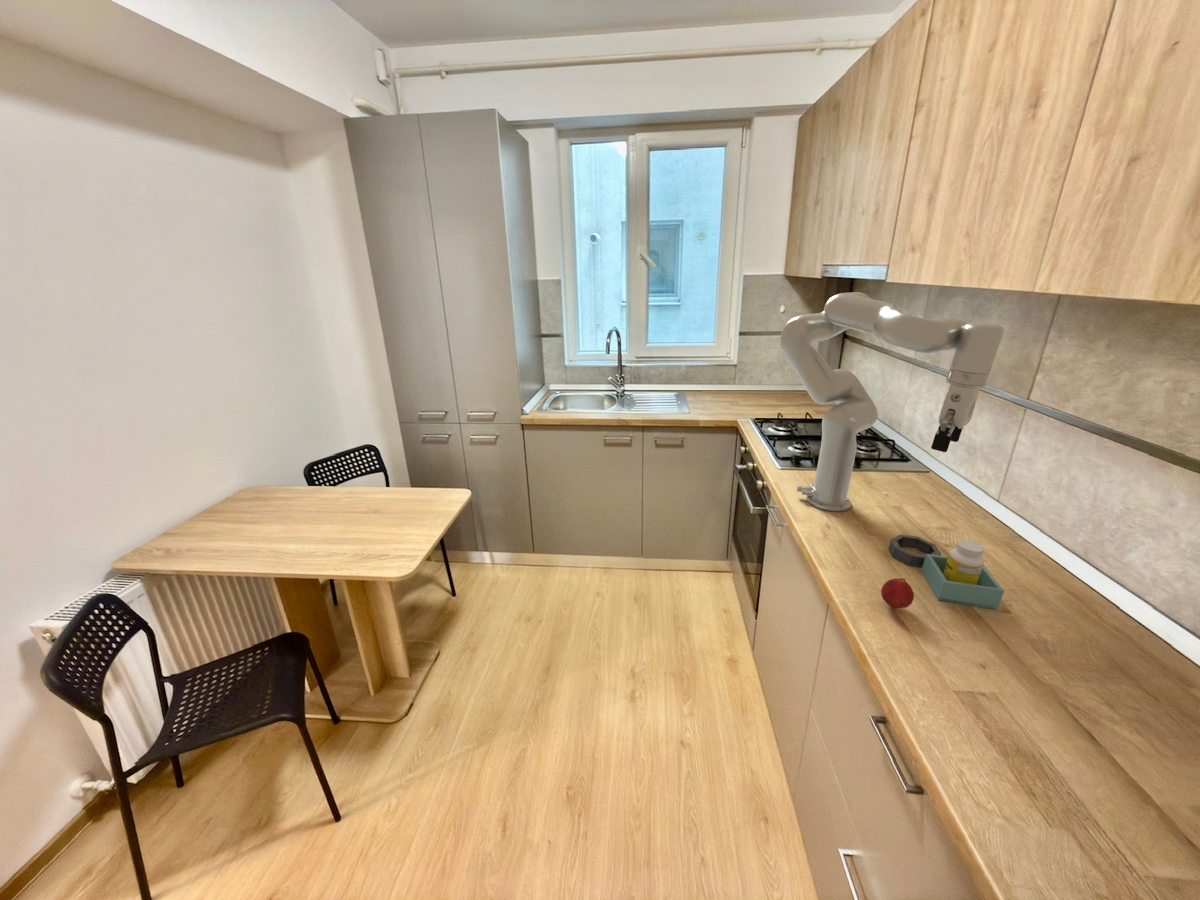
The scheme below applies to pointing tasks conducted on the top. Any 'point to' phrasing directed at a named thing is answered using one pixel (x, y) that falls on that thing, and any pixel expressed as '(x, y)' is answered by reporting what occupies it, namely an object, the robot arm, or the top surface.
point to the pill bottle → (964, 562)
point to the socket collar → (914, 543)
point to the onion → (897, 593)
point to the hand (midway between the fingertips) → (944, 445)
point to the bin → (961, 585)
